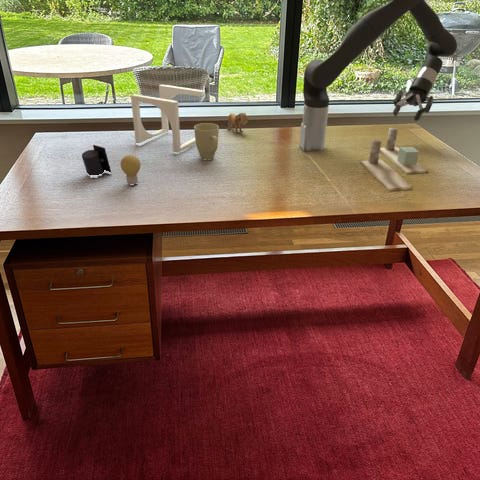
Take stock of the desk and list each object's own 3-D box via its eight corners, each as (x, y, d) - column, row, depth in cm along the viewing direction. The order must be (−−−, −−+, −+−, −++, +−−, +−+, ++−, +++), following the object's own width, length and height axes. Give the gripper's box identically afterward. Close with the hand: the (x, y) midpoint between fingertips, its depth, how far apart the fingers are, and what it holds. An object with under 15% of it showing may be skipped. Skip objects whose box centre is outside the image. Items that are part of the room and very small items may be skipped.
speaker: (105, 168, 173) (98, 142, 167) (112, 174, 170) (106, 147, 163) (84, 175, 170) (77, 148, 164) (91, 182, 166) (84, 154, 160)
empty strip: (389, 190, 159) (393, 165, 154) (360, 163, 179) (364, 139, 174) (412, 189, 160) (417, 163, 155) (381, 161, 180) (385, 138, 176)
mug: (190, 161, 181) (188, 129, 175) (201, 152, 189) (200, 121, 183) (216, 165, 178) (216, 133, 172) (227, 156, 186) (227, 125, 180)
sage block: (403, 165, 175) (406, 152, 173) (397, 160, 179) (399, 147, 177) (416, 164, 176) (419, 151, 173) (409, 159, 180) (412, 146, 178)
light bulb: (145, 181, 165) (143, 153, 160) (136, 189, 160) (133, 160, 154) (129, 179, 166) (126, 151, 161) (119, 186, 161) (115, 158, 156)
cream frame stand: (165, 131, 210) (161, 84, 200) (205, 139, 202) (203, 90, 192) (135, 146, 195) (130, 95, 184) (177, 154, 187) (174, 102, 176)
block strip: (406, 173, 171) (411, 149, 166) (377, 149, 191) (381, 127, 186) (427, 172, 172) (432, 148, 167) (396, 148, 192) (400, 126, 188)
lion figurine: (250, 133, 209) (251, 112, 204) (241, 136, 206) (241, 115, 201) (229, 125, 219) (229, 105, 214) (220, 127, 216) (220, 107, 211)
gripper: (404, 73, 192) (385, 108, 190) (440, 79, 184) (420, 116, 182) (408, 84, 198) (390, 119, 196) (442, 91, 190) (424, 126, 188)
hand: (404, 117), depth 189 cm, fingers open, 8 cm apart
